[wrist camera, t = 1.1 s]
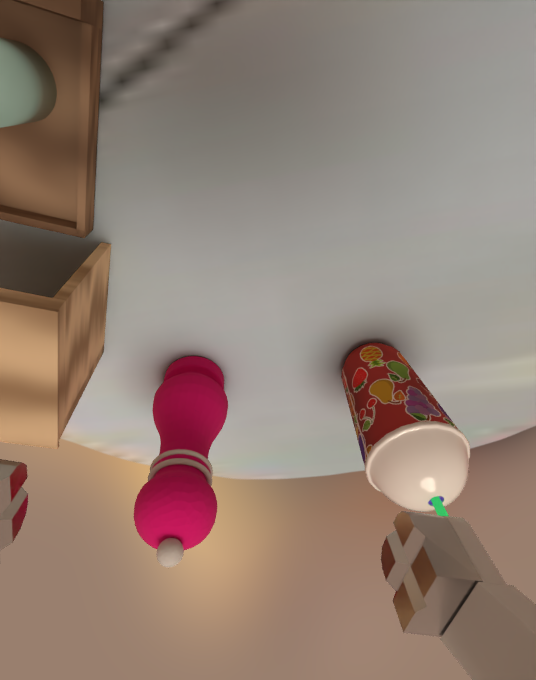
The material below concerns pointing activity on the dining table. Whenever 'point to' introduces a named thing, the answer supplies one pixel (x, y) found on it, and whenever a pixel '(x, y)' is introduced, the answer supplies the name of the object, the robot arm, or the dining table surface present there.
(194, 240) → the dining table surface
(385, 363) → the smoothie
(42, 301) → the counter cubby
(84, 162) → the tray
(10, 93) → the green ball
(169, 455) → the pepper mill
